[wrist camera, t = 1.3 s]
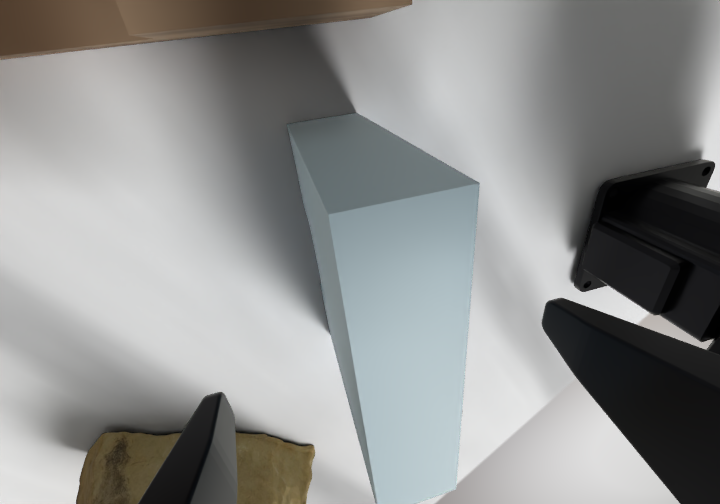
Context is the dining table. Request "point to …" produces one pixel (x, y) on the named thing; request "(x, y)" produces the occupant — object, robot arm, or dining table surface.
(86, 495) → the rock
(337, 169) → the blue-grey rectangular slab
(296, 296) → the dining table surface
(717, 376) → the robot arm
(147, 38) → the walnut rail
